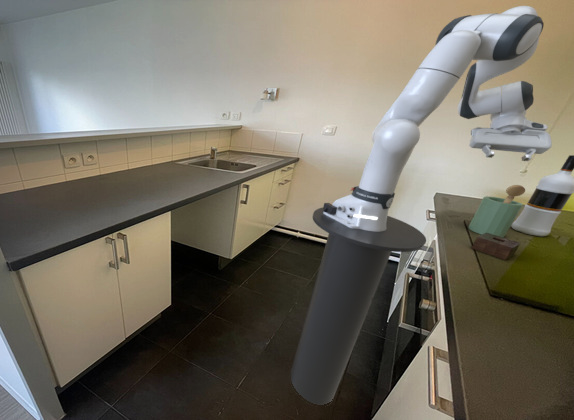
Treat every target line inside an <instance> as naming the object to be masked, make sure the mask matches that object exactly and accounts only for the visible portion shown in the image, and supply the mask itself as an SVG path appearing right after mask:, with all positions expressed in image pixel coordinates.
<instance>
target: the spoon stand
mask: <svg viewBox="0 0 574 420" xmlns="http://www.w3.org/2000/svg"><path fill="white" fill-rule="evenodd" d="M520 245H521V242H519V241H516V240H513V239H509V238H507V237H500V236H496V235H493V234H490V233H484V234H479V235H478V236H477V237H476V238H475V241H474V242H473V244H472V246H471V249H472V250H474V251H477V252H480V253H482V254H485V255H489V256H492V257H495V258H498V259H500V260H503V261H506V260H508V259H510V258H511V257H513V256H514V255H515V254H516V252H517V250H518V248H519V247H520Z"/></svg>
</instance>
